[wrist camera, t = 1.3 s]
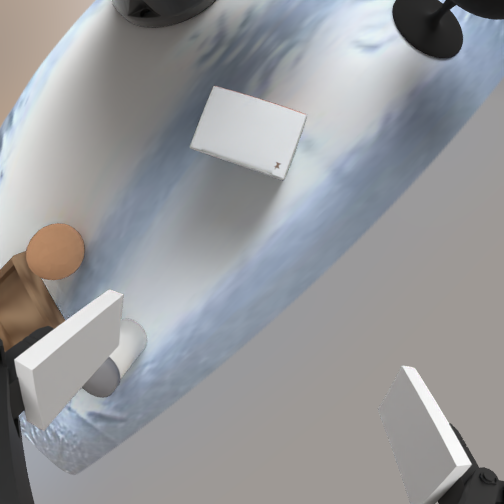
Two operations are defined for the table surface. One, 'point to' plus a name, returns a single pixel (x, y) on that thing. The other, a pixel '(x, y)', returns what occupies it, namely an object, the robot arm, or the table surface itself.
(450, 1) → the wine glass
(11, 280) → the tray
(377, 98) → the table surface
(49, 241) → the egg
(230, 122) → the small box
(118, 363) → the shaker
